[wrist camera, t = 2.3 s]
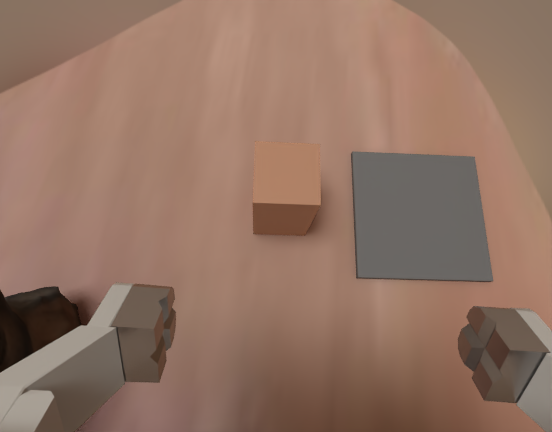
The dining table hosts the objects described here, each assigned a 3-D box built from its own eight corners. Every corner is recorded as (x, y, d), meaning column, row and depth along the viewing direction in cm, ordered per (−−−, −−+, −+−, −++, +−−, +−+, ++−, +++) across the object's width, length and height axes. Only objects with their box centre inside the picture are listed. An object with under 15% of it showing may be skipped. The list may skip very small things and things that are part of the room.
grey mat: (489, 281, 39) (493, 281, 38) (356, 278, 38) (357, 277, 38) (471, 159, 43) (474, 156, 42) (351, 153, 42) (352, 151, 42)
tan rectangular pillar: (304, 235, 39) (320, 205, 30) (253, 233, 39) (252, 202, 29) (304, 187, 41) (319, 144, 31) (255, 185, 41) (255, 141, 31)
